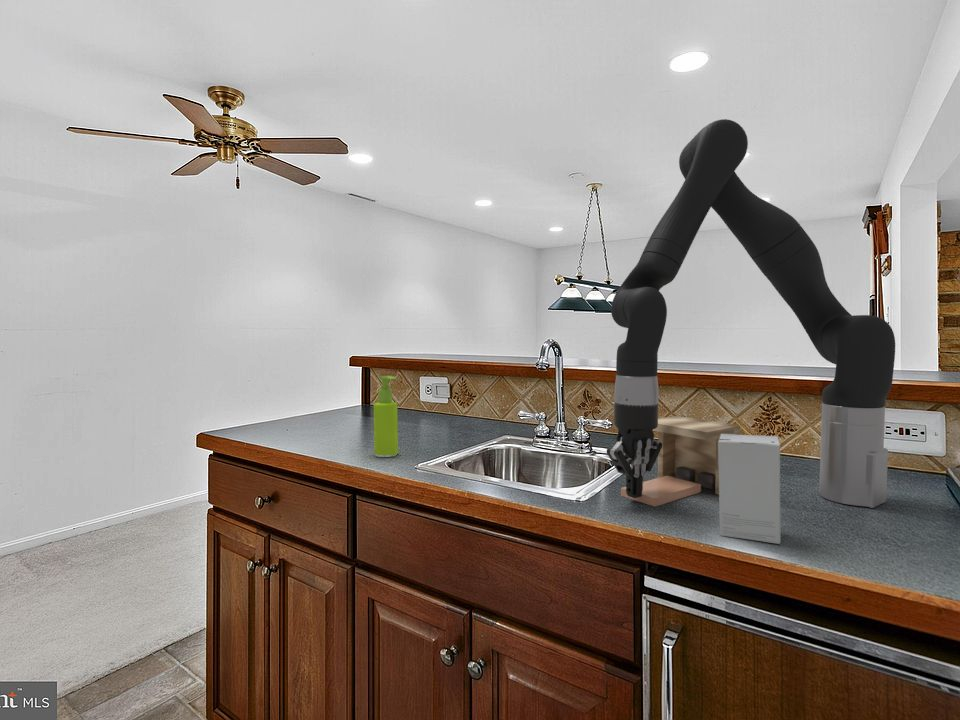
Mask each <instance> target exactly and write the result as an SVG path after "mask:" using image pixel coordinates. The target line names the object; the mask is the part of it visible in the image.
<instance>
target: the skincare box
mask: <svg viewBox="0 0 960 720" xmlns="http://www.w3.org/2000/svg"><path fill="white" fill-rule="evenodd" d="M718 463H719V495H718V498H719V499H718V503H719V504H718V505H719V506H718V507H719V510H718V511H719V534H720V536H721V537H728V538H736V539H742V540H750V541H757V542H762V543H763V542H764V543H771V544H778V545H780V544H781V541H782V539H781V538H782V536H781V535H782V533H781V443H780V439H779V436H777V435H775V436H774V435H754V434H753V435H752V434H751V435H749V434H740V435H735V434H721V435H720V438H719V441H718Z"/></svg>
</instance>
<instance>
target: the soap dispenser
mask: <svg viewBox="0 0 960 720" xmlns="http://www.w3.org/2000/svg"><path fill="white" fill-rule="evenodd" d="M378 380H381V387H380V388H378V392H377V393H378V401H377V402H375V403H373V449H374V450H373V451H374V453H375V454H377V455H395V454H397V453H398V454H399V428H398V426H399V424H398V421H399V420H398V417H399V416H398V414H399V413H398V412H399V411H398V402H396V401H393V389H392V388H391V387H389V383H390V382H391V381H397V377H395V376H393V375H382V376H378ZM389 381H390V382H389ZM374 453H373V454H374Z"/></svg>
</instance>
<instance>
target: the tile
mask: <svg viewBox="0 0 960 720" xmlns="http://www.w3.org/2000/svg"><path fill="white" fill-rule="evenodd" d="M642 485H643V490H642V496H641V497H638V498H633V497H630V496H628V495H627V493H626V486H624V487H620V496H621V497H625V498H628V499H630V500H633V501H636V502H639V503H643V504H646V505H649V506H652V507H658V506H662V505H665V504H668V503H671V502H674V501H677V500H680V499H683V498H686V497H689V496H693V495H695V494H699V493H701V491H702V486H701V484H698V482H690V481H686V480H682V479H678V478H676V477H675V476H673V477H670V476H663V477H660V478H658V477H656V478H653V479H650V480H649V479H648V480H645V481H643V484H642Z"/></svg>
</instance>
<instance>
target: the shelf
mask: <svg viewBox="0 0 960 720" xmlns="http://www.w3.org/2000/svg"><path fill="white" fill-rule="evenodd" d="M653 432H657V435H658V436H657V442H661V443H662V448H661V450H660V452H659V454H658V457H657V478H660V477H663V476H670V477H675V478H678V479H682V480H686V481H690V482H694V483H698V484H701V488H707V489H709V490H715V492H714V493H715V495H718V496H719V463H718V441H719V438H720V435H721V434H735V435H741V425H738V424H733V423H726V422H719V421H712V420H706V419H699V418H692V417H685V416H679V415H673V416H666V417H662V418H658V426H657V428H655V429H653Z"/></svg>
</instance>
